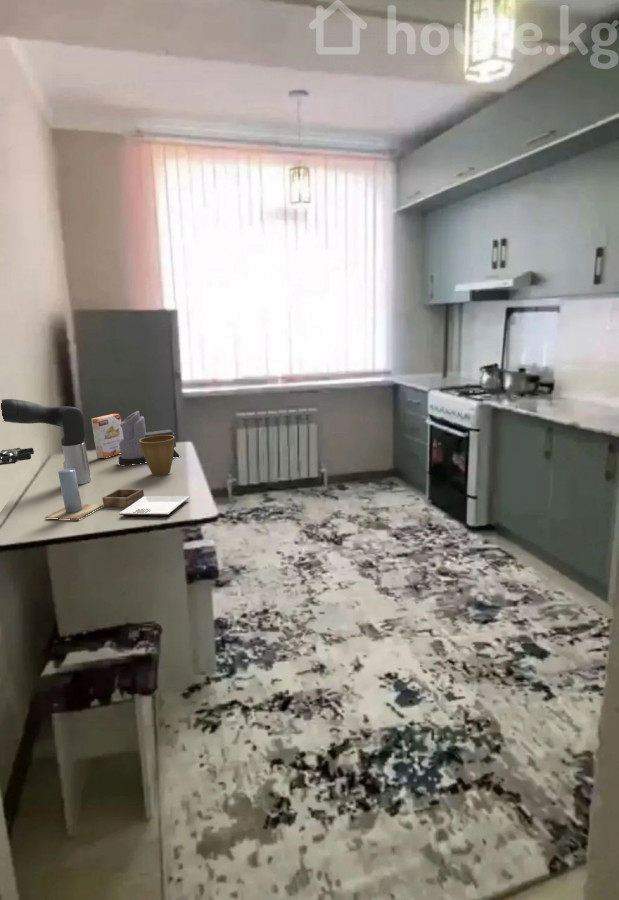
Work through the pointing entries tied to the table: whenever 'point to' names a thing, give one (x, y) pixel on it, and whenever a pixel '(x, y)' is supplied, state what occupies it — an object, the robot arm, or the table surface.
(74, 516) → the wooden board
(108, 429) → the cracker box
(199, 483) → the table surface
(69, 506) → the cylinder
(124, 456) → the grey boots
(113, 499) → the holder
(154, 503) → the plate
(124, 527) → the table surface
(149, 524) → the table surface
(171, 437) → the plant pot
